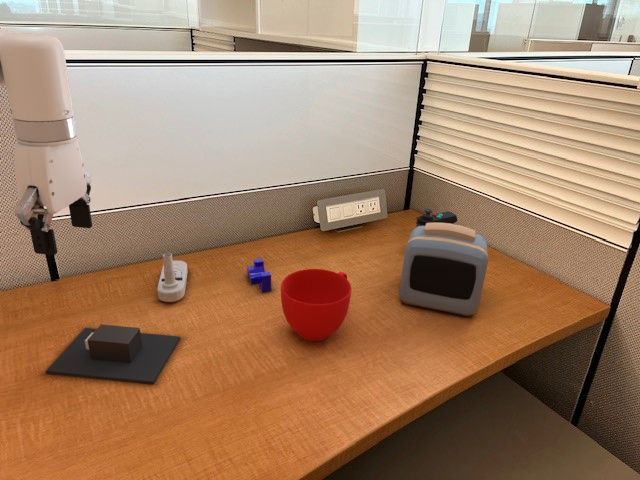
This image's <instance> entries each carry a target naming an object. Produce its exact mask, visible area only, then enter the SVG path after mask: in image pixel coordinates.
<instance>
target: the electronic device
mask: <svg viewBox="0 0 640 480" xmlns="http://www.w3.org/2000/svg"><path fill="white" fill-rule="evenodd" d="M162 261H163V262H162V263H163V265H162V267H161V272H160V276H159V279H158V283H157V287H156V289H157V297H158V299H159V300H160V301H162V302H165V303H167V302H168V303H174V302H178V301H179V300H182V299H183V297H184V296H185V294H186V287H187V280H188V272H189V271H188V264H187V262H185V261H183V260H173V254H172V253H171V252H167V253H163V254H162Z"/></svg>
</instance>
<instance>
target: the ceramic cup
mask: <svg viewBox="0 0 640 480" xmlns="http://www.w3.org/2000/svg"><path fill="white" fill-rule="evenodd" d="M351 296H352V284H351V282H350V281H349V280H348V274H347V273H346V272H344V271H339V272H335V271H332V270H328V269H322V268H306V269H301V270H295V271H294V272H291V273H289V274H288V275H286V276H285V277H284V278H283V279H282V281H281V284H280V300H281V308H282V312H283V315H284V317H285V321H286V322H287V324H288V325H289V326H290V328H291V329H292V330H293V331H294V332H295V333H296V334H297V335H298V336H299V337H300V338H301V339H304V340H306V341H310V342H320V341H324V340H327V339H328V338H329V337H330V336H332V335H333V334H334V333H336V332H337V330H339V328H340V327H341V326H342V324H343V323H344V321H345V319H346V317H347V314H348V311H349V308H350V303H351Z"/></svg>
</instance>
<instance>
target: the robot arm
mask: <svg viewBox="0 0 640 480" xmlns="http://www.w3.org/2000/svg"><path fill="white" fill-rule="evenodd" d="M2 86H5V89H6V94H7V100H8V105H9V109H10V115H11V119H12V125H13V129H14V135H15V138H16V139H15V140H16V143H14V170H15V171H14V173H15V181H16V189H17V196H18V200H19V201H18V203H16V206H15V207H14V209H13V213H14V215H15V216H16V218H17V219H18V220H19V221H20V225H22V226H24V227H25V229H26V230H27V231H29V232H30V237H31V243H32V247H33V251H34V253H35V254H37V255H46V256H47V255H48V256H55V255H57V254H58V247H57V241H56V237H55V230H54V228H51V224H52V220H53V218H54V215H55V214H57V213H58V212H61V211H62V210H63V209H66V208H67V207H68V209H69V216H70V222H71V226H72V227H74V228H82V229H91V228H92V227H93V221H92V214H91V213H92V212H91V207H90V206H91V205H90V204H91V200H92V199H91V197H90V193H91V190H92V186H91V182H92V181H91V180H92V172H91V171H89V170H86V169H85V164H84V160H83V156H82V151H81V148H80V147H81V146H80V144H79V141H78V133H77V127H76V121H75V120H76V119H75V114H74V106H73V102H72V101H73V100H72V95H71V86H70V81H69V74H68V68H67V61H66V54H65V48H64V46H63V43H62V42H61V40H60V39H58V38H57V37H56V36H53V35H50V34H43V33H34V32H33V33H32V32H31V33H30V32H15V31H11V30H8V29H4V28H0V87H2ZM43 207H44V208H43ZM39 215H43V218H42V220H40V219H39V218H38V216H39Z"/></svg>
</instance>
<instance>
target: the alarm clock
mask: <svg viewBox="0 0 640 480" xmlns="http://www.w3.org/2000/svg"><path fill="white" fill-rule="evenodd" d="M488 264H489V255H488V245H487V241H486V239H485V238H484V237H483V235H480V234H477V233H476V230H475V229H472V228H470V227H467V226H464V225H461V224H455V223H454V224H450V223H426V226H419V227H417V226H416V227H415V228H412V231H411V233H410V236H409V237H408V240H407V243H406V245H405V247H404V254H403V263H402V268H401V269H402V270H401V277H400V281H399V289H398V290H399V291H398V294H399V299H400V300H401V301H402V303H404V304H407V305H410V306H414V307H420V308H425V309H430V310H436V311H440V312H444V313H445V312H446V313H450V314H455V315H461V316H466V317H467V316H468V317H469V316H470V317H471V316H474V315H475V314H476V313H477V311H478V309H479V307H480V303H481V298H482V294H483V293H482V292H483V288H484V284H485V279H486V273H487V269H488Z"/></svg>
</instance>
